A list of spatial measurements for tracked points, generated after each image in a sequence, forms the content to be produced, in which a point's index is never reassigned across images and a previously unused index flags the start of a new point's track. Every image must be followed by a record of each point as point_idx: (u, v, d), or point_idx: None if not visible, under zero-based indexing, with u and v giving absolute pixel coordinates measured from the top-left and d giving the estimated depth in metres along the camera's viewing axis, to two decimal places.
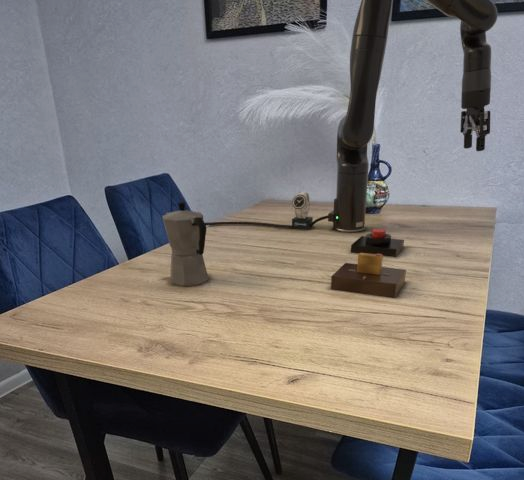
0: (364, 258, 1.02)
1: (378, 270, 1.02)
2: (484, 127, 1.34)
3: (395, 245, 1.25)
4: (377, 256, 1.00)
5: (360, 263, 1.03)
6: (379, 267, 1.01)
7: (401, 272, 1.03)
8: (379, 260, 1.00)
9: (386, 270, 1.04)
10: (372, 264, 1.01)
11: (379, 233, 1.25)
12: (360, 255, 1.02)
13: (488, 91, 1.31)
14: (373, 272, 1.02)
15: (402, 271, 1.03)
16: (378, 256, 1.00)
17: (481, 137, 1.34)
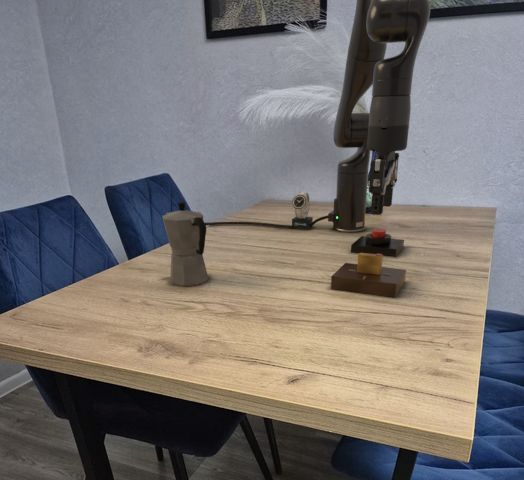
0: (364, 258, 1.02)
1: (378, 270, 1.02)
2: (383, 182, 0.91)
3: (395, 245, 1.25)
4: (377, 256, 1.00)
5: (360, 263, 1.03)
6: (379, 267, 1.01)
7: (401, 272, 1.03)
8: (379, 260, 1.00)
9: (386, 270, 1.04)
10: (372, 264, 1.01)
11: (379, 233, 1.25)
12: (360, 255, 1.02)
13: (396, 131, 0.87)
14: (373, 272, 1.02)
15: (402, 271, 1.03)
16: (378, 256, 1.00)
17: (375, 195, 0.91)
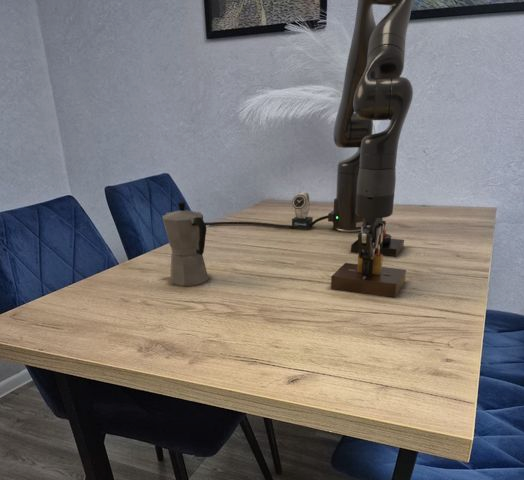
0: None
1: (378, 270, 1.02)
2: (372, 249, 0.98)
3: (395, 245, 1.25)
4: (377, 256, 1.00)
5: (360, 263, 1.03)
6: (379, 267, 1.01)
7: (401, 272, 1.03)
8: (379, 260, 1.00)
9: (386, 270, 1.04)
10: None
11: None
12: None
13: (381, 200, 0.93)
14: (373, 272, 1.02)
15: (402, 271, 1.03)
16: (378, 256, 1.00)
17: (365, 260, 0.99)
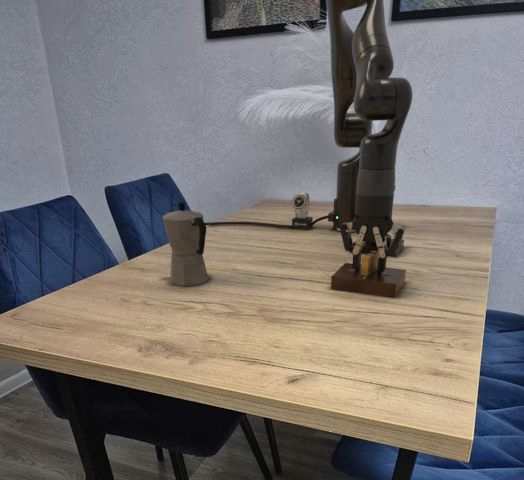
0: (371, 259, 1.01)
1: (377, 266, 1.04)
2: (386, 245, 1.00)
3: None
4: (377, 253, 1.02)
5: (369, 266, 1.01)
6: (377, 263, 1.04)
7: (401, 272, 1.03)
8: (378, 256, 1.03)
9: (386, 270, 1.04)
10: (375, 262, 1.03)
11: None
12: (369, 258, 1.00)
13: None
14: (375, 269, 1.04)
15: (402, 271, 1.03)
16: (377, 253, 1.02)
17: (386, 257, 1.00)
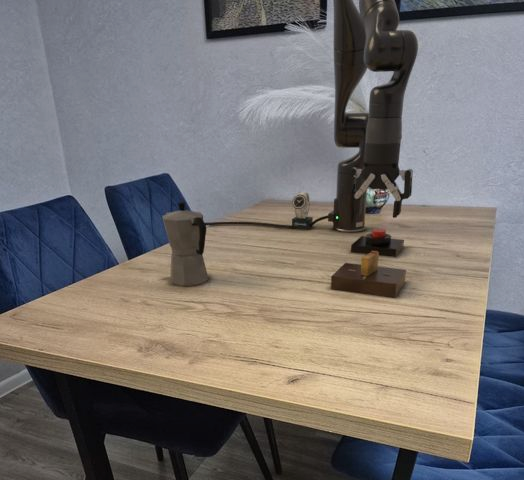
0: (371, 259, 1.01)
1: (377, 266, 1.04)
2: (398, 189, 1.06)
3: (395, 245, 1.25)
4: (377, 253, 1.02)
5: (369, 266, 1.01)
6: (377, 263, 1.04)
7: (401, 272, 1.03)
8: (378, 256, 1.03)
9: (386, 270, 1.04)
10: (375, 262, 1.03)
11: (379, 233, 1.25)
12: (369, 258, 1.00)
13: None
14: (375, 269, 1.04)
15: (402, 271, 1.03)
16: (377, 253, 1.02)
17: (401, 201, 1.06)
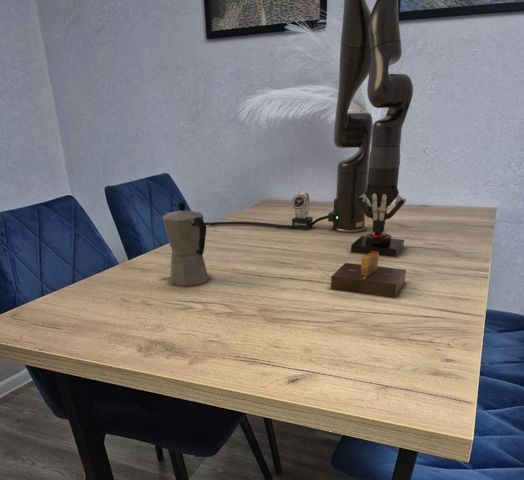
0: (371, 259, 1.01)
1: (377, 266, 1.04)
2: (386, 211, 1.24)
3: (395, 245, 1.25)
4: (377, 253, 1.02)
5: (369, 266, 1.01)
6: (377, 263, 1.04)
7: (401, 272, 1.03)
8: (378, 256, 1.03)
9: (386, 270, 1.04)
10: (375, 262, 1.03)
11: (379, 236, 1.25)
12: (369, 258, 1.00)
13: None
14: (375, 269, 1.04)
15: (402, 271, 1.03)
16: (377, 253, 1.02)
17: (384, 220, 1.24)
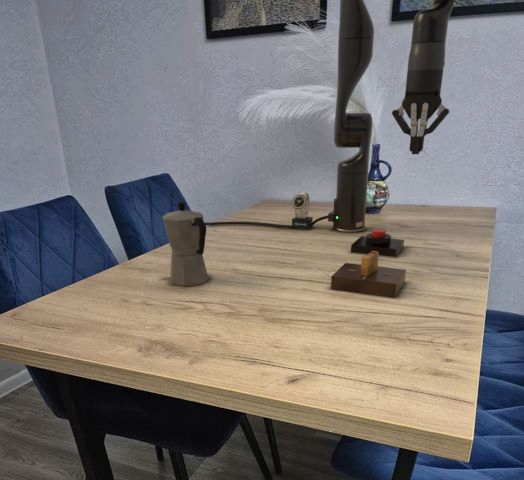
0: (371, 259, 1.01)
1: (377, 266, 1.04)
2: (426, 125, 1.08)
3: (395, 245, 1.25)
4: (377, 253, 1.02)
5: (369, 266, 1.01)
6: (377, 263, 1.04)
7: (401, 272, 1.03)
8: (378, 256, 1.03)
9: (386, 270, 1.04)
10: (375, 262, 1.03)
11: (379, 233, 1.25)
12: (369, 258, 1.00)
13: None
14: (375, 269, 1.04)
15: (402, 271, 1.03)
16: (377, 253, 1.02)
17: (424, 136, 1.08)
